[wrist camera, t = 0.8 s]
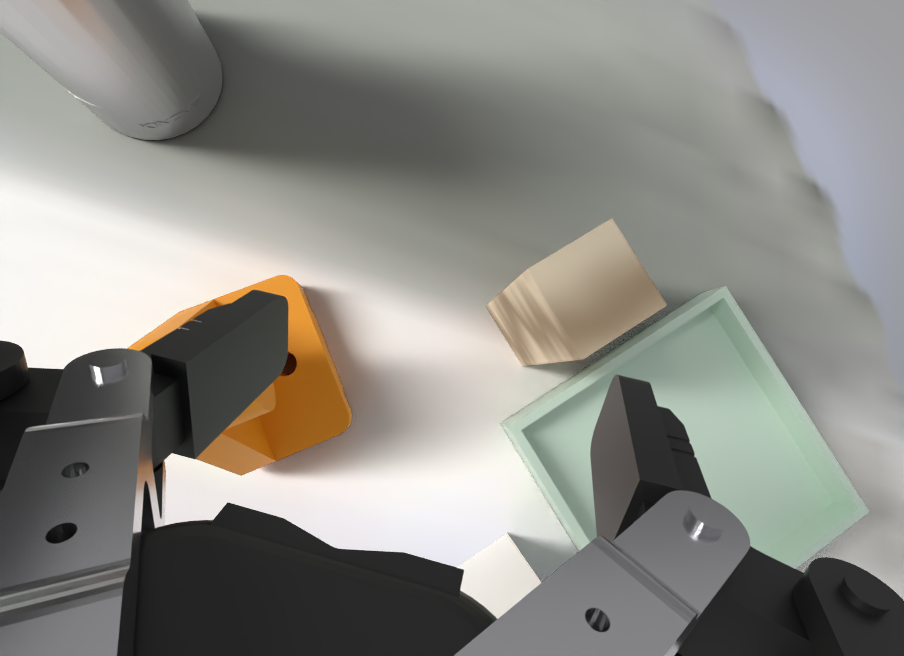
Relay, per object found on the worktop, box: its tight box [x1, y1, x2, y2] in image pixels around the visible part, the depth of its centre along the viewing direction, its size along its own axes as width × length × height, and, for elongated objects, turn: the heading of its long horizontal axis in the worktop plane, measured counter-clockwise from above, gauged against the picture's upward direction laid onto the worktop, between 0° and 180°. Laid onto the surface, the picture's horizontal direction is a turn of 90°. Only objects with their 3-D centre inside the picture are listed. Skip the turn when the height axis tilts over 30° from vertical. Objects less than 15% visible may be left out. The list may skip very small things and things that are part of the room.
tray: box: [500, 286, 870, 569], centre depth 34 cm, size 18×18×3 cm
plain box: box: [486, 218, 667, 366], centre depth 30 cm, size 5×5×12 cm
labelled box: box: [457, 533, 541, 619], centre depth 28 cm, size 5×5×12 cm
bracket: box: [128, 275, 352, 475], centre depth 28 cm, size 11×7×12 cm, turn 22°
